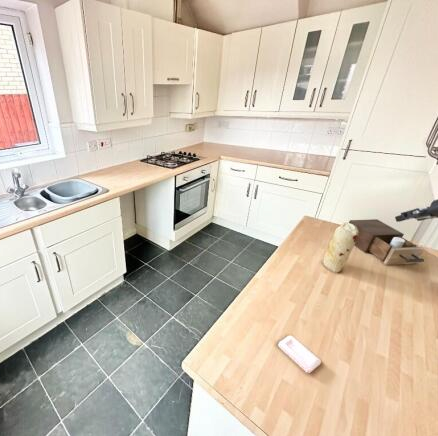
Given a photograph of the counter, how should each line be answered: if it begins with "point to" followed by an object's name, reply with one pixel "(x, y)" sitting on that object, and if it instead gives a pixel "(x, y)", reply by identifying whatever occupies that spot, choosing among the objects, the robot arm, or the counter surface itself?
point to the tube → (397, 243)
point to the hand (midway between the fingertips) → (406, 218)
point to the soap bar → (299, 354)
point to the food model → (340, 246)
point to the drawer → (395, 251)
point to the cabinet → (371, 232)
